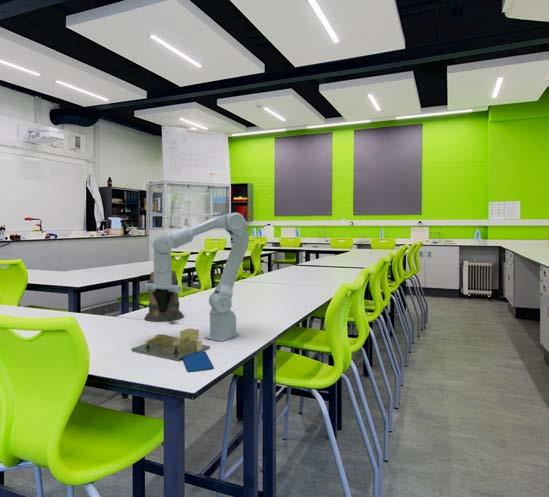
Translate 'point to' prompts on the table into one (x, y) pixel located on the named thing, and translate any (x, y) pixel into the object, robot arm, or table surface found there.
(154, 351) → the base
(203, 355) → the smartphone
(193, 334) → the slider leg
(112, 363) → the table surface
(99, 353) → the table surface
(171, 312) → the tankard
